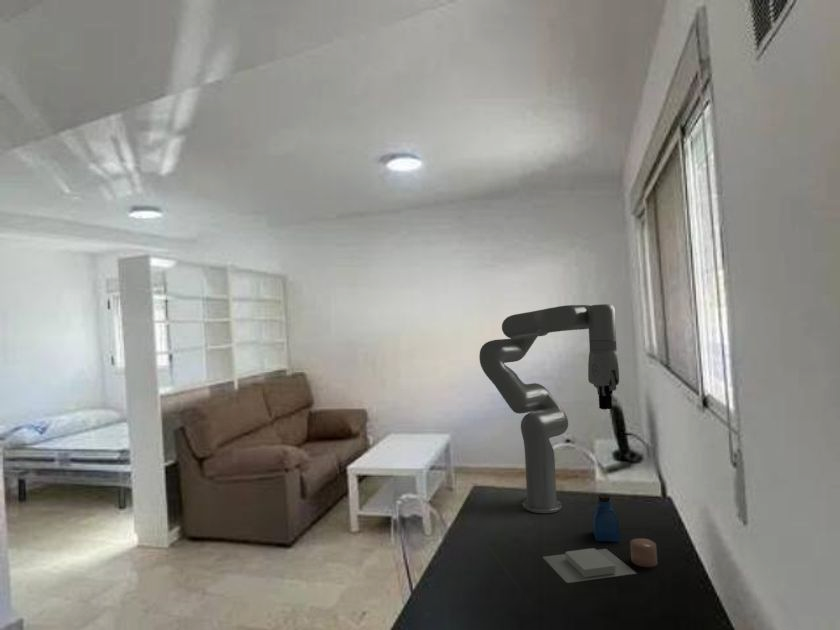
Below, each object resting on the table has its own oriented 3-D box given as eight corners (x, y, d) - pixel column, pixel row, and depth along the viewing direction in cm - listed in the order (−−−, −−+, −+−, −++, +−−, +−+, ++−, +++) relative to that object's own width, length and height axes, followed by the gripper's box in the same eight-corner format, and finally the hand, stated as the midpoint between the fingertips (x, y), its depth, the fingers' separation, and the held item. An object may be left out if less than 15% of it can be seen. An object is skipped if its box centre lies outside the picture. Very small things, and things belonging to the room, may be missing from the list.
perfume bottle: (619, 544, 143) (617, 500, 143) (596, 543, 144) (594, 499, 144) (615, 534, 149) (614, 492, 149) (593, 533, 150) (591, 492, 150)
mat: (542, 559, 136) (542, 556, 136) (606, 550, 139) (606, 548, 139) (566, 585, 122) (566, 583, 122) (637, 575, 125) (637, 573, 125)
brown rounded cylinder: (631, 556, 135) (629, 537, 135) (656, 559, 133) (655, 539, 133) (631, 568, 129) (630, 548, 129) (658, 570, 127) (656, 550, 127)
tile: (565, 551, 134) (584, 569, 124) (594, 548, 135) (615, 565, 125) (565, 559, 134) (584, 578, 124) (594, 555, 135) (615, 574, 125)
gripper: (578, 346, 161) (581, 405, 160) (604, 348, 146) (607, 413, 146) (601, 344, 162) (604, 404, 162) (629, 346, 147) (631, 412, 147)
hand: (605, 408), depth 154 cm, fingers closed
